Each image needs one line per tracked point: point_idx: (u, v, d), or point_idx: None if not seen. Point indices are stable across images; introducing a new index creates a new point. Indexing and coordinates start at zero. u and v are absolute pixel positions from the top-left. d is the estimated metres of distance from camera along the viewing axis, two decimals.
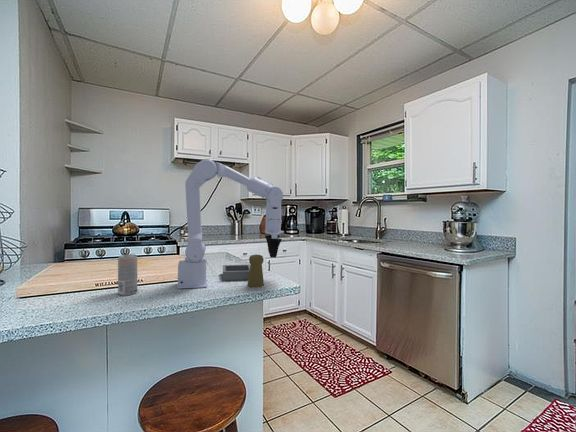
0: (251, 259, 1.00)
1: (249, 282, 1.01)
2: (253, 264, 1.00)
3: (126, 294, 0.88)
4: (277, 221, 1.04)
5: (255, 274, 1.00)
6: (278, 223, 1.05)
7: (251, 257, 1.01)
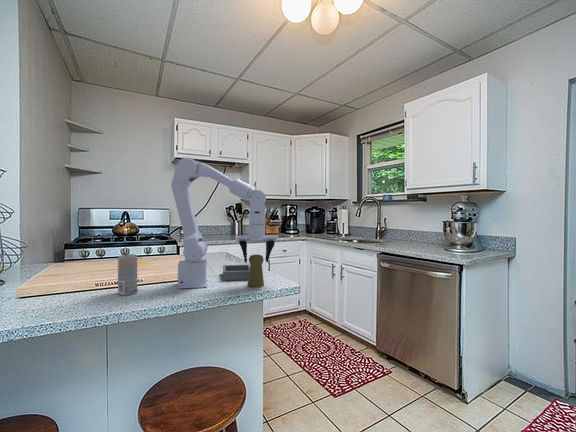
0: (251, 259, 1.00)
1: (249, 282, 1.01)
2: (253, 264, 1.00)
3: (126, 294, 0.88)
4: (250, 226, 1.00)
5: (255, 274, 1.00)
6: (251, 228, 1.00)
7: (251, 257, 1.01)
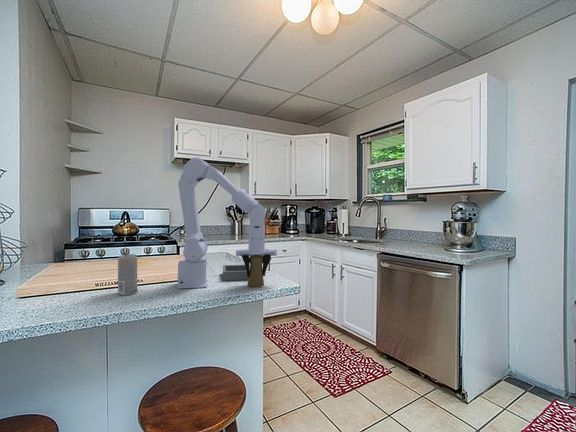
0: (251, 259, 1.00)
1: (249, 282, 1.01)
2: (253, 264, 1.00)
3: (126, 294, 0.88)
4: (250, 240, 1.00)
5: (255, 274, 1.00)
6: (250, 242, 1.00)
7: (251, 257, 1.01)
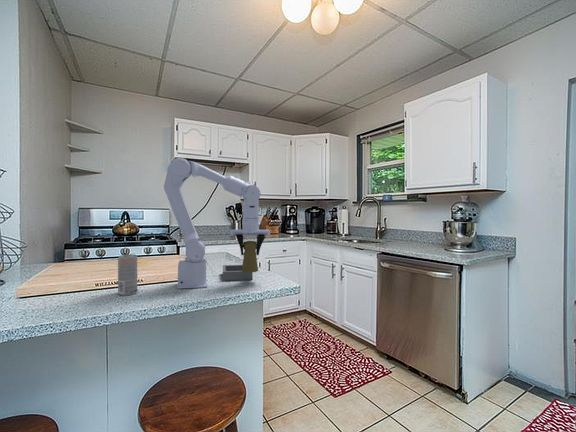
0: (245, 245, 1.03)
1: (244, 267, 1.03)
2: (247, 250, 1.03)
3: (126, 294, 0.88)
4: (244, 219, 1.03)
5: (249, 259, 1.03)
6: (244, 222, 1.03)
7: (245, 243, 1.03)
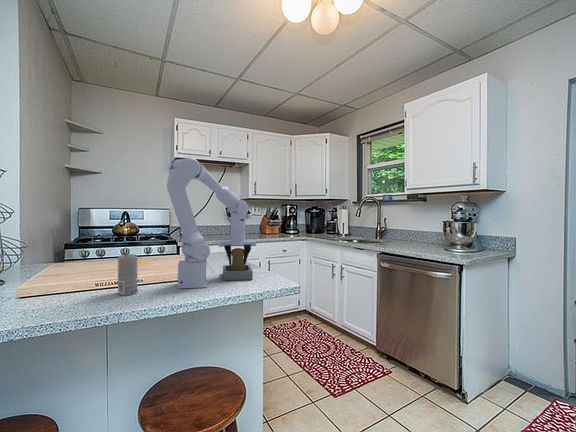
0: (233, 252, 1.10)
1: None
2: (235, 257, 1.10)
3: (126, 294, 0.88)
4: (231, 232, 1.10)
5: (237, 266, 1.10)
6: (232, 234, 1.10)
7: (233, 250, 1.10)
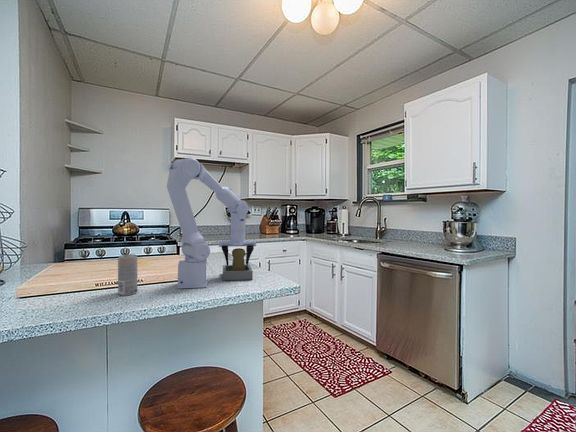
0: (234, 252, 1.10)
1: None
2: (236, 257, 1.10)
3: (126, 294, 0.88)
4: (231, 232, 1.10)
5: (237, 266, 1.10)
6: (232, 234, 1.10)
7: (234, 251, 1.10)
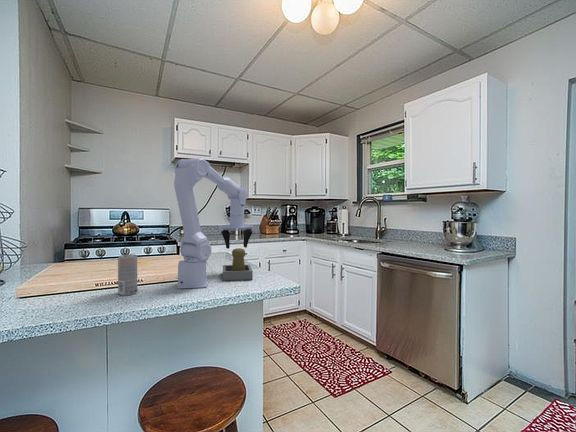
0: (234, 252, 1.10)
1: None
2: (236, 257, 1.10)
3: (126, 294, 0.88)
4: (232, 217, 1.16)
5: (237, 266, 1.10)
6: (233, 219, 1.16)
7: (234, 251, 1.10)
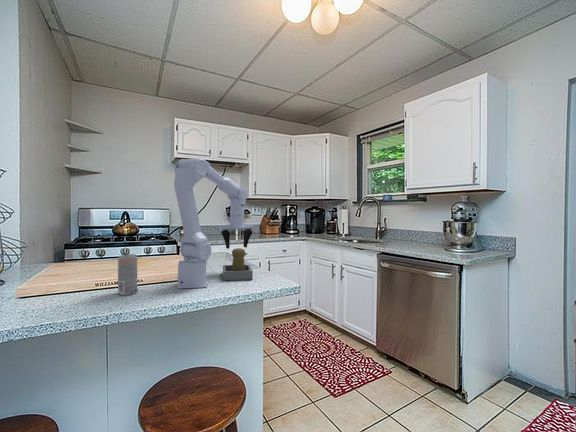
0: (234, 252, 1.10)
1: None
2: (236, 257, 1.10)
3: (126, 294, 0.88)
4: (232, 217, 1.16)
5: (237, 266, 1.10)
6: (233, 219, 1.16)
7: (234, 251, 1.10)
